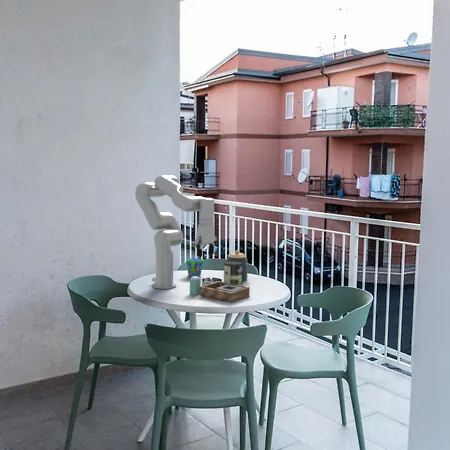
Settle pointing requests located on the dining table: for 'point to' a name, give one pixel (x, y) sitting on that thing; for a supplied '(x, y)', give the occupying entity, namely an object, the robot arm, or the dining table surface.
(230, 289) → the socket
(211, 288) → the bin
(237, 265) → the coffee can
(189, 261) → the snack cup
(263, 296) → the dining table surface
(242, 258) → the canister
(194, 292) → the teal salt shaker
